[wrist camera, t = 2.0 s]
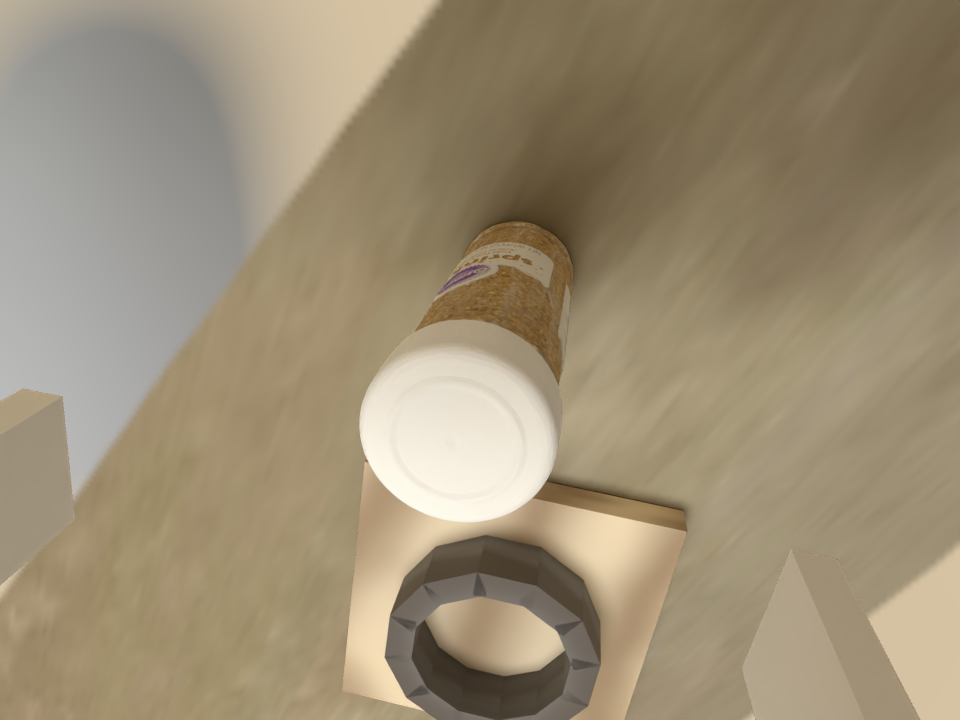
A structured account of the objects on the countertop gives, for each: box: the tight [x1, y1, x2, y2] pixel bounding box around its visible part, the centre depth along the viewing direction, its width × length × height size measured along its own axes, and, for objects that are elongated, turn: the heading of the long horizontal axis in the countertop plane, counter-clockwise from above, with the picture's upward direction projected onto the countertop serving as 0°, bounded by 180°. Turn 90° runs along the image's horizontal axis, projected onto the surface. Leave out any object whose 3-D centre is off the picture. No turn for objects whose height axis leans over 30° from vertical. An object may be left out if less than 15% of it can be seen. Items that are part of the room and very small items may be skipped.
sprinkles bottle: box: [359, 221, 574, 522], centre depth 21 cm, size 5×5×14 cm
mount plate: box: [342, 459, 687, 720], centre depth 32 cm, size 14×14×4 cm
